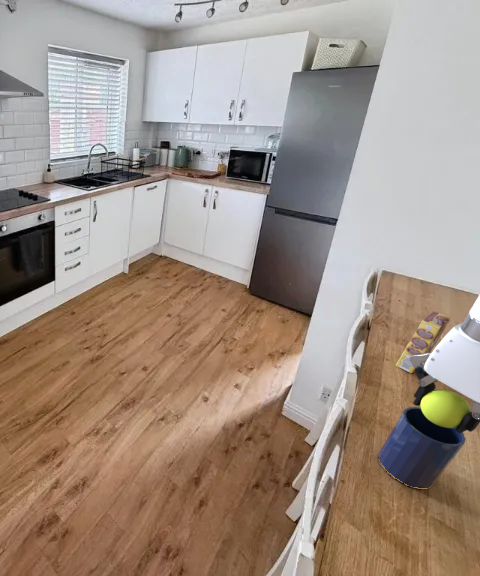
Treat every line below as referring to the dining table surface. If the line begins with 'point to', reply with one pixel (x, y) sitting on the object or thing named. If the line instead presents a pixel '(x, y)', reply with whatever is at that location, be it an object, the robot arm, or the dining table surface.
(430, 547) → the dining table surface
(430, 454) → the blue round container
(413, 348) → the candy box
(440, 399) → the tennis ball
